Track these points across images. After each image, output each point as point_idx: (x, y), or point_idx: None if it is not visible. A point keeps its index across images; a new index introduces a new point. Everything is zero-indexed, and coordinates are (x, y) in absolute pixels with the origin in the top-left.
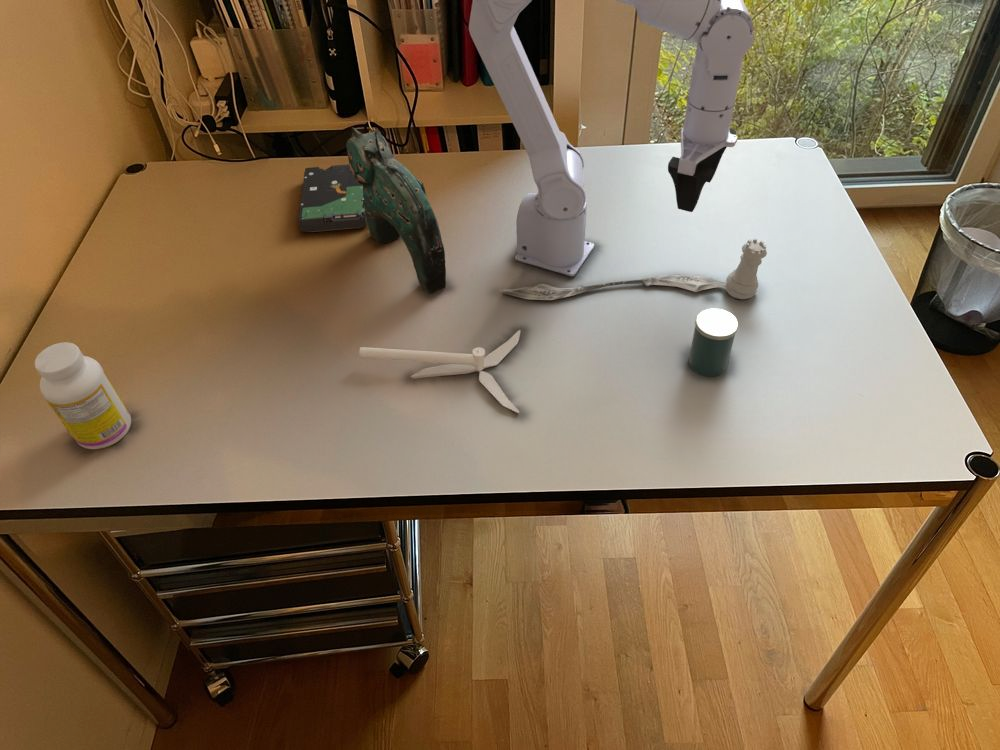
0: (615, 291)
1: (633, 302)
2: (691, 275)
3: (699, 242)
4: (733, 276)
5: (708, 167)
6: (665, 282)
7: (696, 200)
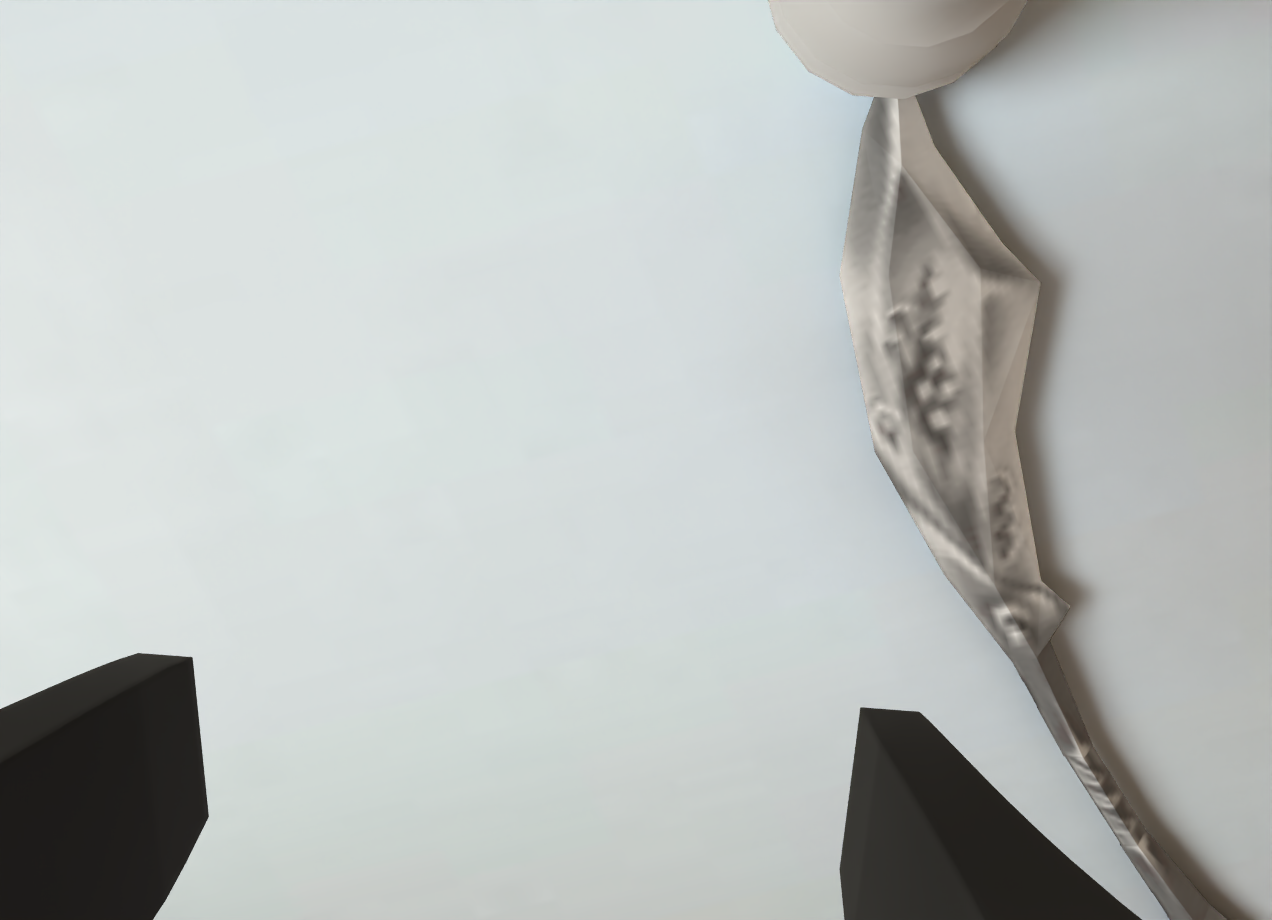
0: (1140, 758)
1: (1223, 635)
2: (857, 361)
3: (429, 402)
4: (976, 19)
5: (67, 840)
6: (1009, 509)
7: (1022, 819)
